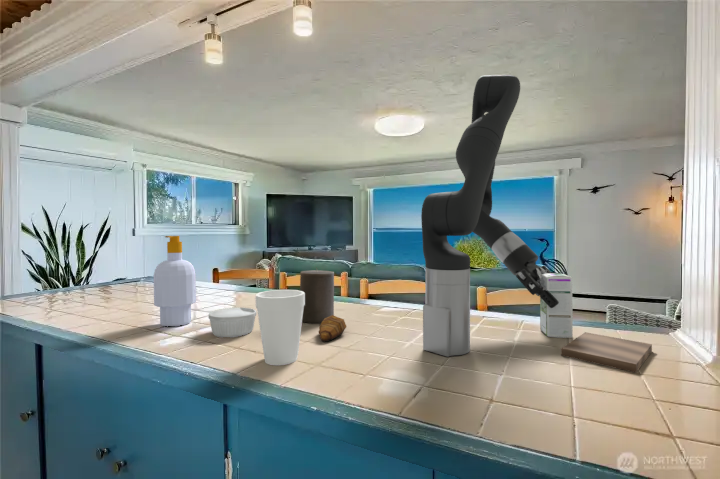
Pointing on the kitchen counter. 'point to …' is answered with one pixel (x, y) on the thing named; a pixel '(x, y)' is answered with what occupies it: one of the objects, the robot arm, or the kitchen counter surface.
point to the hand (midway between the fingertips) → (561, 303)
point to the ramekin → (232, 321)
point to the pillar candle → (317, 295)
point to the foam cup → (280, 324)
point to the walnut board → (608, 351)
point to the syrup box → (557, 307)
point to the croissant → (331, 328)
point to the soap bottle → (174, 286)
